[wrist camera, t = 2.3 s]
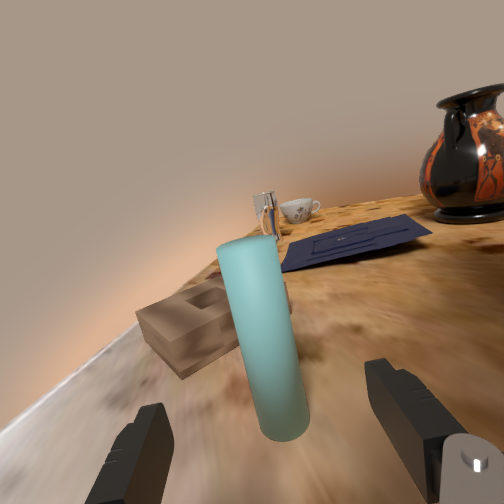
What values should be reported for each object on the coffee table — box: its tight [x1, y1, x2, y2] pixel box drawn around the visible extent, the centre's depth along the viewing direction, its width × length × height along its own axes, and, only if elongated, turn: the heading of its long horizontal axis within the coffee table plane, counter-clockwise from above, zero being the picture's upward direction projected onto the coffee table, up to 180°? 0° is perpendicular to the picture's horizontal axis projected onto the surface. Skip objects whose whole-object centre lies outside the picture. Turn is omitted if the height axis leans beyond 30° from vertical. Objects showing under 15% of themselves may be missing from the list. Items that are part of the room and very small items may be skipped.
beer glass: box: [253, 191, 283, 243], centre depth 88 cm, size 7×7×15 cm
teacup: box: [280, 198, 320, 224], centre depth 112 cm, size 15×12×8 cm
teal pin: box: [216, 235, 310, 442], centre depth 23 cm, size 4×4×16 cm
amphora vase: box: [419, 83, 504, 224], centre depth 68 cm, size 22×22×28 cm
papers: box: [280, 214, 432, 272], centre depth 68 cm, size 24×30×4 cm
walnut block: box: [136, 275, 292, 380], centre depth 43 cm, size 18×14×5 cm
